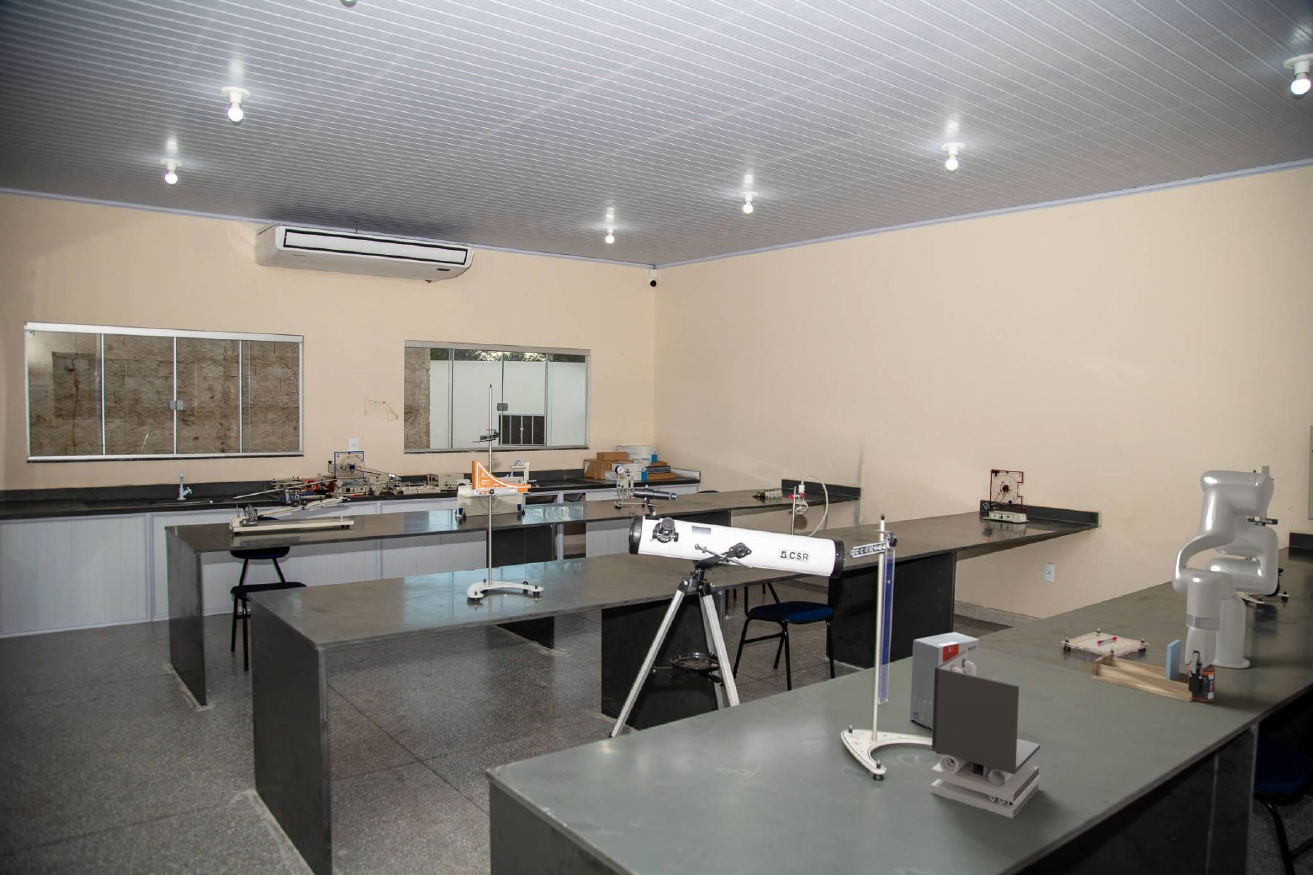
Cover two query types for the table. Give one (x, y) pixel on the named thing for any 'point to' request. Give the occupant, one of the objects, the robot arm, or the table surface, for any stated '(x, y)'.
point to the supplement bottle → (1206, 685)
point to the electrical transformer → (980, 740)
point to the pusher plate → (1173, 661)
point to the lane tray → (1140, 677)
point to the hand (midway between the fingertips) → (1199, 688)
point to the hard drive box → (923, 669)
